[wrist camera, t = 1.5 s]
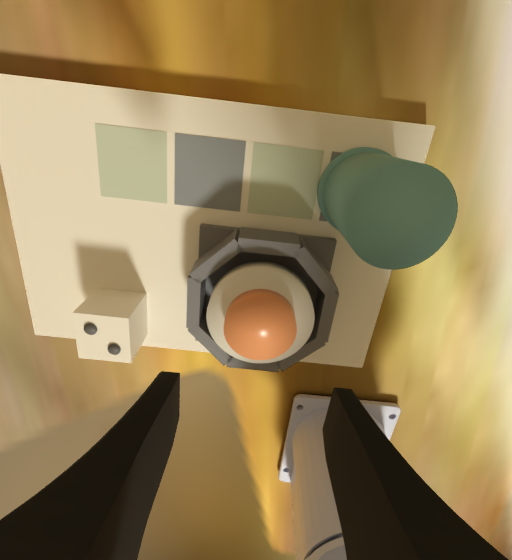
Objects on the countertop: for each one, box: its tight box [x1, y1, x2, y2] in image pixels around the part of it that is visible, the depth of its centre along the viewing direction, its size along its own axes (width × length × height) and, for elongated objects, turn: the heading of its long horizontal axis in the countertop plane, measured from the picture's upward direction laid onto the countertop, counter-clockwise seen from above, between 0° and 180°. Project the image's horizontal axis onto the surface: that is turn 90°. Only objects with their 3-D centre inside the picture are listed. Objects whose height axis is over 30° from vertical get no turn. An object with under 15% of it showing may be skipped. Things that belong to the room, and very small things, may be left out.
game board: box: [0, 74, 435, 372], centre depth 18 cm, size 15×22×4 cm
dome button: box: [206, 261, 315, 363], centre depth 17 cm, size 6×6×2 cm
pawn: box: [317, 147, 458, 270], centre depth 15 cm, size 4×4×6 cm
